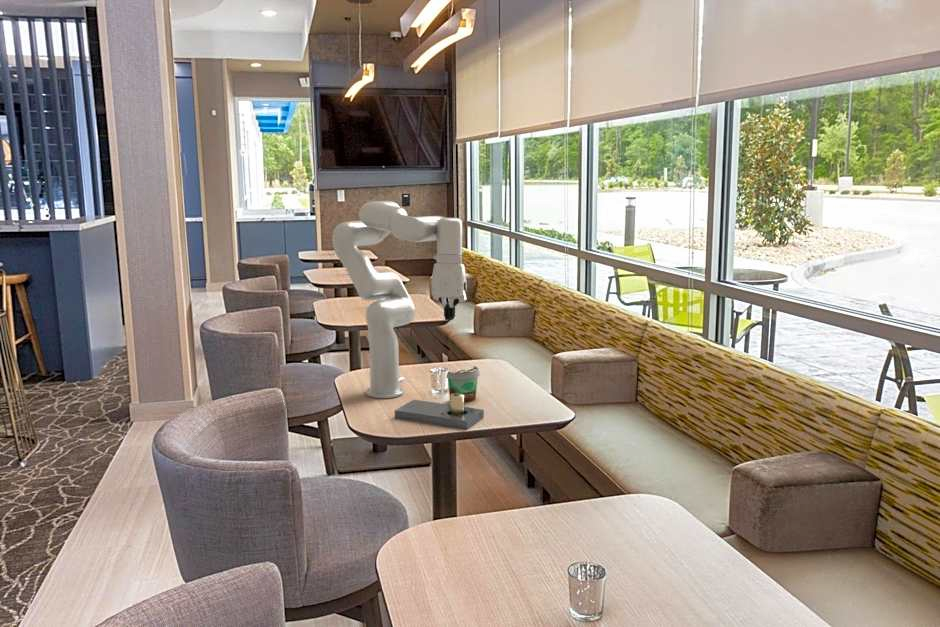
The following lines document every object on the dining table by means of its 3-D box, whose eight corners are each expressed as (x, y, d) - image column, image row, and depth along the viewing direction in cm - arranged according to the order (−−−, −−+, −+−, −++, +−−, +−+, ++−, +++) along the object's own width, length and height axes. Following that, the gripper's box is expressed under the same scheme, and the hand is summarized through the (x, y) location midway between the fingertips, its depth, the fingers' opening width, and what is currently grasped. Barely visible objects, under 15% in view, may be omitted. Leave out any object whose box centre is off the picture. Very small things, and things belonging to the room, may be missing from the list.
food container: (458, 406, 245) (458, 375, 243) (446, 401, 250) (446, 371, 248) (487, 398, 253) (487, 369, 251) (474, 394, 258) (475, 365, 256)
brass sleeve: (454, 417, 234) (454, 391, 232) (466, 419, 232) (466, 393, 231) (448, 421, 230) (448, 395, 229) (460, 423, 228) (460, 397, 227)
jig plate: (413, 407, 244) (413, 399, 243) (483, 417, 234) (483, 409, 234) (394, 418, 233) (394, 410, 233) (467, 429, 223) (467, 421, 223)
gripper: (421, 259, 231) (421, 319, 234) (467, 262, 225) (466, 324, 228) (433, 256, 237) (433, 315, 241) (477, 259, 231) (477, 319, 235)
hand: (449, 319), depth 234 cm, fingers closed
